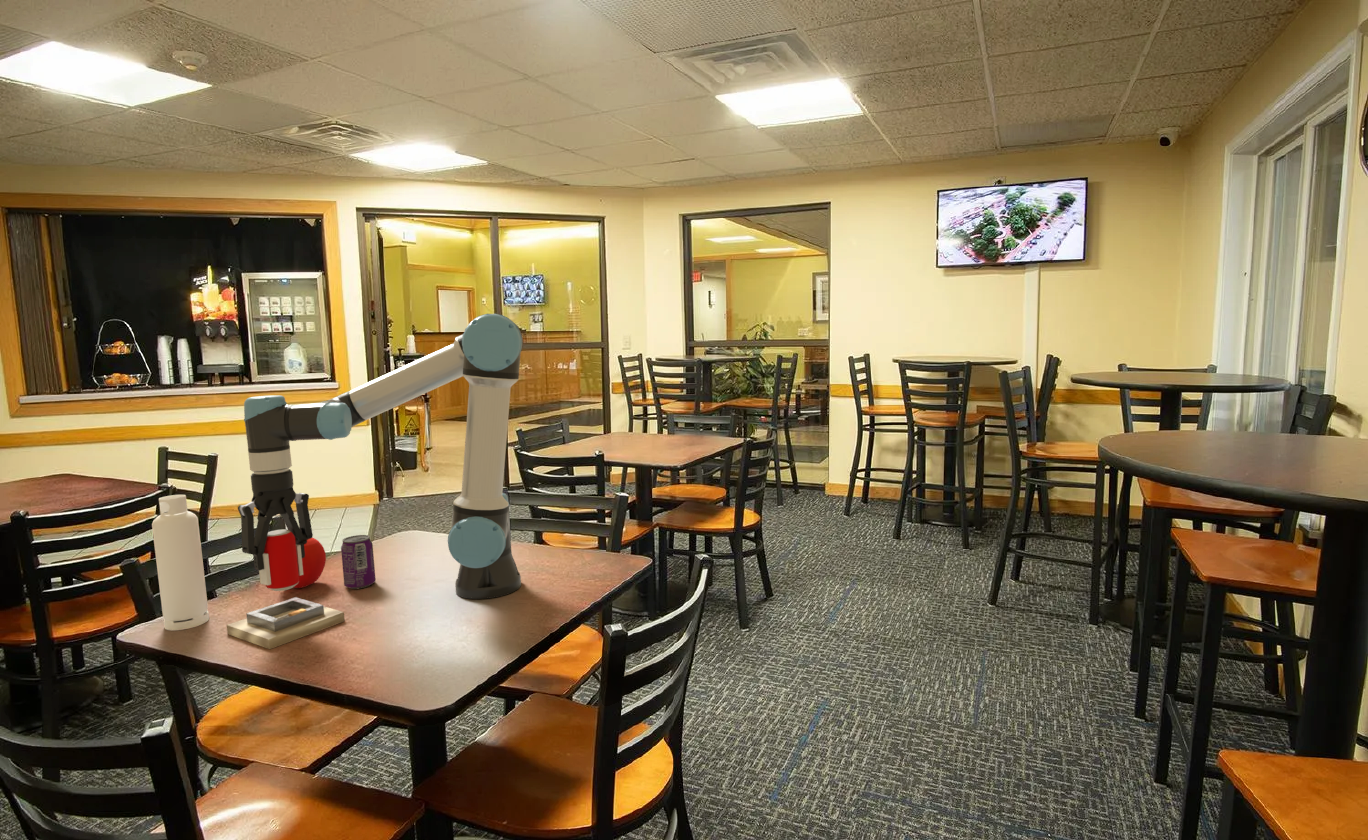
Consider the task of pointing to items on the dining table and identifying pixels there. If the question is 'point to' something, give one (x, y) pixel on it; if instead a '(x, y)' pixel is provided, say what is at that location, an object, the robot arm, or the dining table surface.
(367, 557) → the beverage can
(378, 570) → the dining table surface
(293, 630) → the hub board
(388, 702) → the dining table surface
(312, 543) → the tomato
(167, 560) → the bottle
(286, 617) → the frame
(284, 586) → the beverage can
